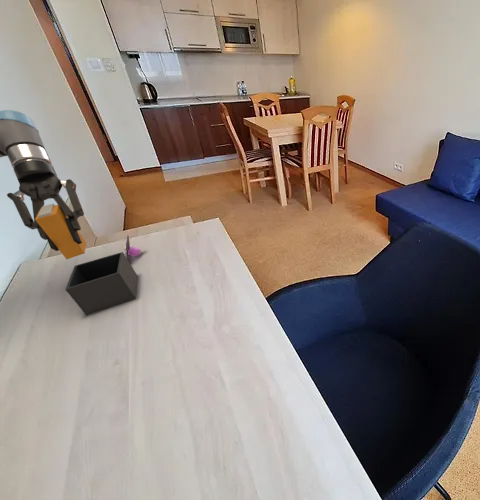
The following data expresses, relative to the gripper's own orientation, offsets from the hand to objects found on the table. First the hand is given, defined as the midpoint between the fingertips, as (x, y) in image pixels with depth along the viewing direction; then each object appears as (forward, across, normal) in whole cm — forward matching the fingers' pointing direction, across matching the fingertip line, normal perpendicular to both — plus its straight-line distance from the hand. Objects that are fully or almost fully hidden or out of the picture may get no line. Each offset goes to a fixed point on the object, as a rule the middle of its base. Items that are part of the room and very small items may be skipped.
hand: (66, 245), depth 77 cm
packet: (0, 0, -5) cm, 5 cm away
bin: (+12, -2, -15) cm, 20 cm away
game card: (-1, -9, -29) cm, 30 cm away
